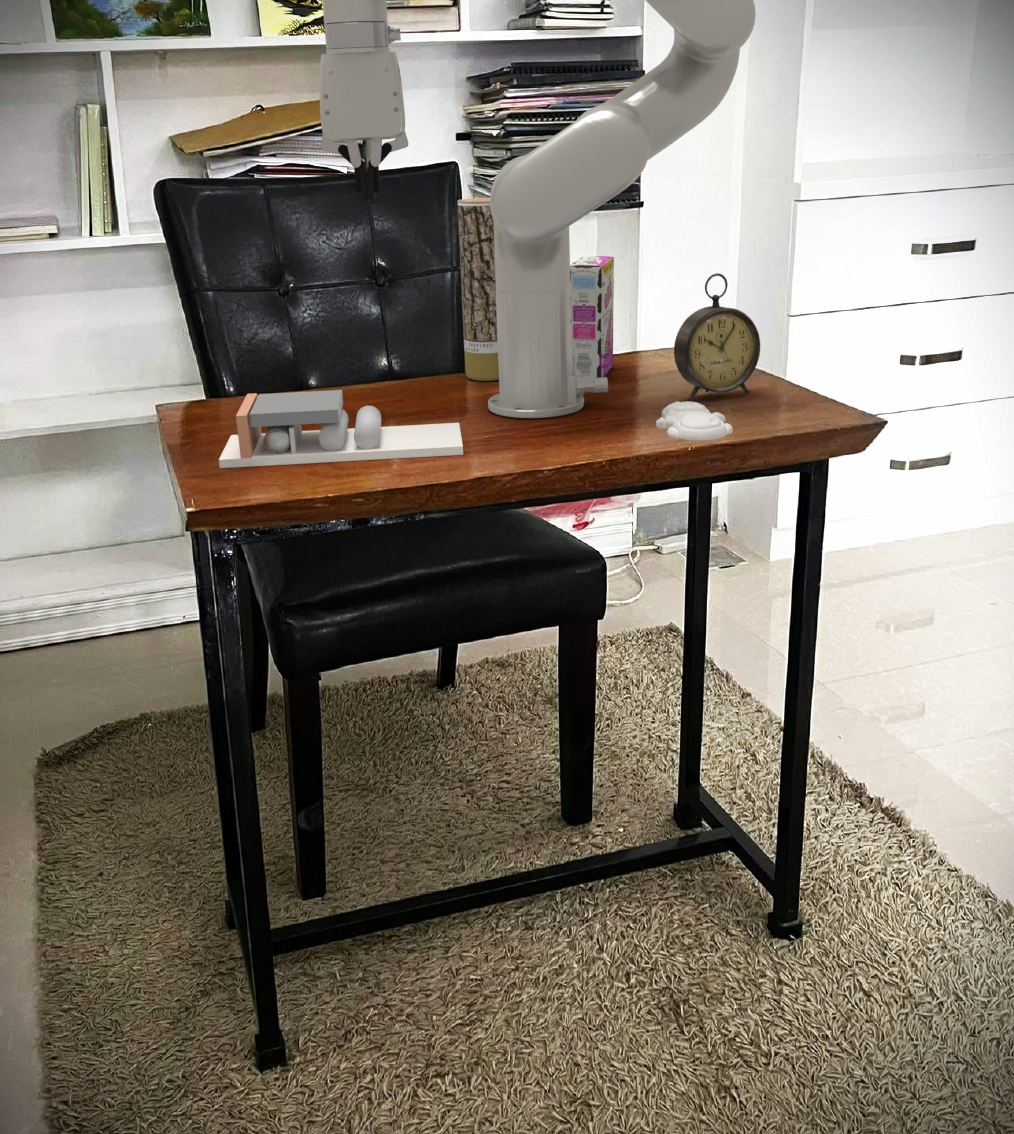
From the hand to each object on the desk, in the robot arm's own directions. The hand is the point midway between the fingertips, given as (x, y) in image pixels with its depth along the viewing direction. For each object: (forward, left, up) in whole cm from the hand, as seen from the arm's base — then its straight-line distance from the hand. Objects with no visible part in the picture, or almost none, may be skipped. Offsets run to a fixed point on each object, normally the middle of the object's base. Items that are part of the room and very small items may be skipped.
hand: (368, 199), depth 156 cm
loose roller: (+13, +17, -26) cm, 33 cm away
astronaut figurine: (-38, +16, -28) cm, 50 cm away
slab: (+9, +17, -23) cm, 30 cm away
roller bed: (+4, +17, -27) cm, 32 cm away
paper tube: (-15, -18, -27) cm, 36 cm away
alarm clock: (-44, +1, -27) cm, 52 cm away
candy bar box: (-30, -16, -27) cm, 44 cm away
